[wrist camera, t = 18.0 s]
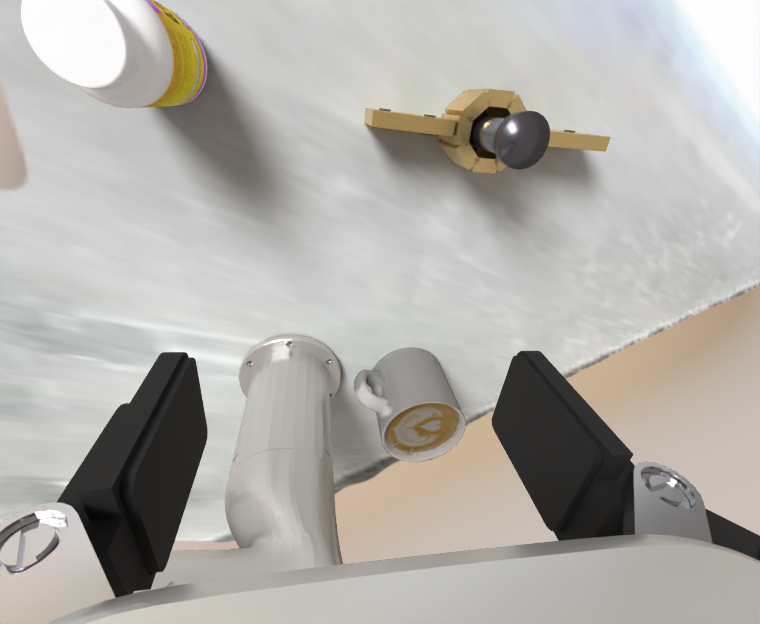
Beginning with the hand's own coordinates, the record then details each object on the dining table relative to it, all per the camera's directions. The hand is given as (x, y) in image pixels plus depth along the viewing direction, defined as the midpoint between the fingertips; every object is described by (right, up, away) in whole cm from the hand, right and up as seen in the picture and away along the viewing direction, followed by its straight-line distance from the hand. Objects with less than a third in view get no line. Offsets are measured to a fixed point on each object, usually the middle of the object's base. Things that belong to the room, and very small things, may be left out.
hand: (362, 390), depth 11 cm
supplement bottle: (-17, +23, +19) cm, 34 cm away
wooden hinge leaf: (+3, +20, +24) cm, 31 cm away
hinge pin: (+9, +20, +25) cm, 33 cm away
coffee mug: (+3, -6, +39) cm, 40 cm away
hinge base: (+13, +20, +26) cm, 35 cm away
